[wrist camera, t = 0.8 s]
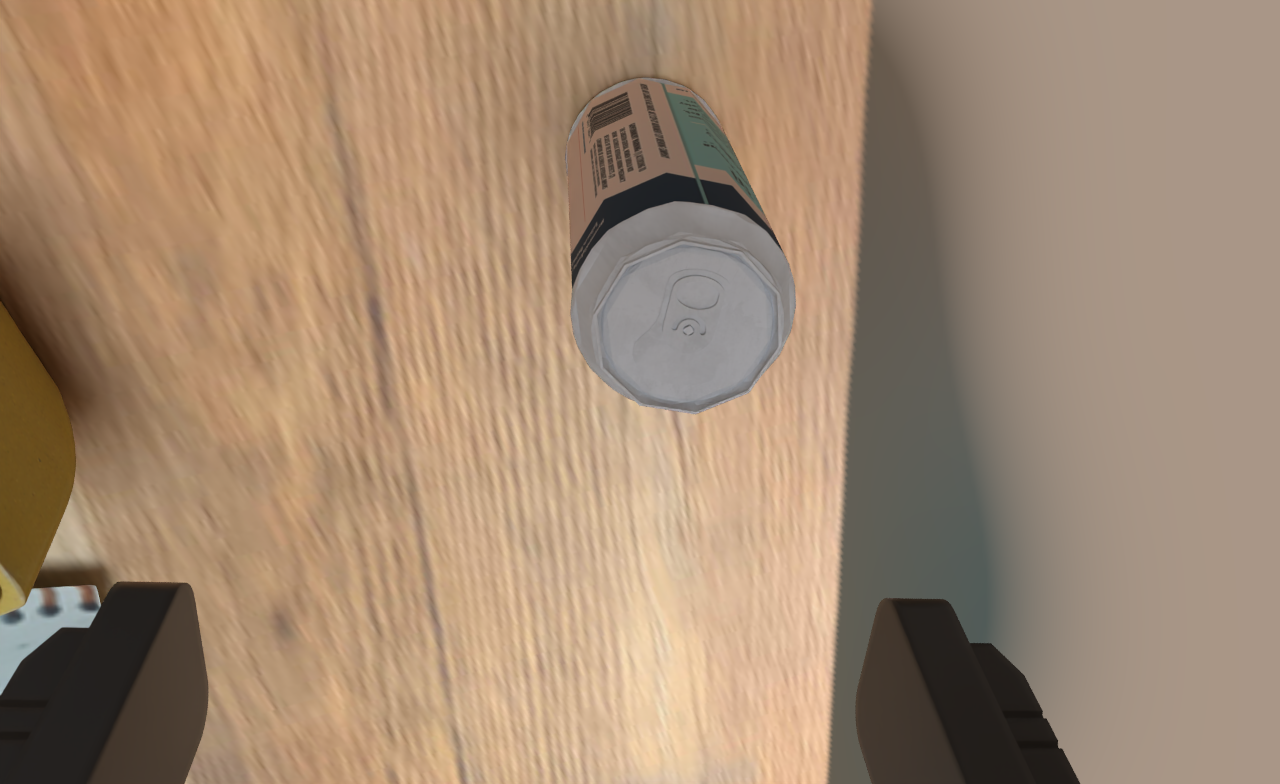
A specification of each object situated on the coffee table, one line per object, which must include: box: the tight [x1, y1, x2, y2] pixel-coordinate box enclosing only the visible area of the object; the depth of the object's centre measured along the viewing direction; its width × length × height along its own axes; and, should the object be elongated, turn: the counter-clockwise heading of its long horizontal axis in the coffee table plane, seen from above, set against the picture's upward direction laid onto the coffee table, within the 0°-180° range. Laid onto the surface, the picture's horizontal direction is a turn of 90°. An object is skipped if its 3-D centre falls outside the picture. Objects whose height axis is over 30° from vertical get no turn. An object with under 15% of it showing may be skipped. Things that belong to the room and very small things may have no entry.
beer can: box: [565, 78, 796, 414], centre depth 27 cm, size 5×5×12 cm
